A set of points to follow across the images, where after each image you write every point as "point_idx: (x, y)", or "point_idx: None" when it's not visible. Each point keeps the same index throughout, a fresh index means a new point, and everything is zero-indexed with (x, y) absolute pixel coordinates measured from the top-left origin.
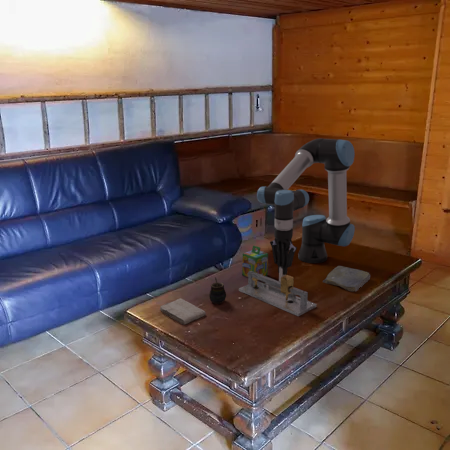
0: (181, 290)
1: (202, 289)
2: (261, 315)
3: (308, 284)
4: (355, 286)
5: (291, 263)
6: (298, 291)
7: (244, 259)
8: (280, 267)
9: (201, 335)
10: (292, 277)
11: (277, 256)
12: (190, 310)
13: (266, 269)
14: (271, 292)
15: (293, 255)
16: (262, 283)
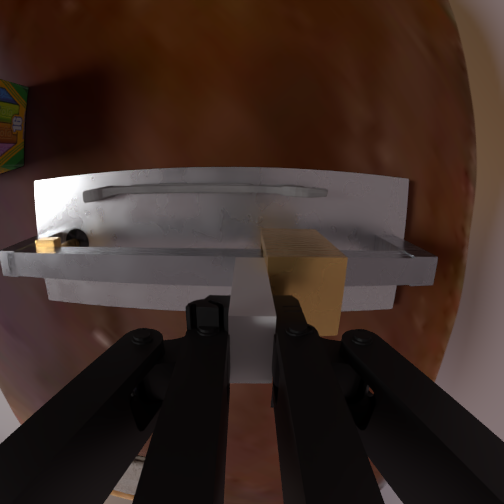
0: (4, 387)
1: (9, 357)
2: (270, 388)
3: (225, 4)
4: None
5: (398, 364)
6: (394, 284)
7: None
8: (247, 381)
9: (229, 497)
10: (342, 268)
11: (125, 428)
12: (129, 478)
13: (9, 90)
14: (159, 228)
15: (494, 450)
16: (63, 182)
